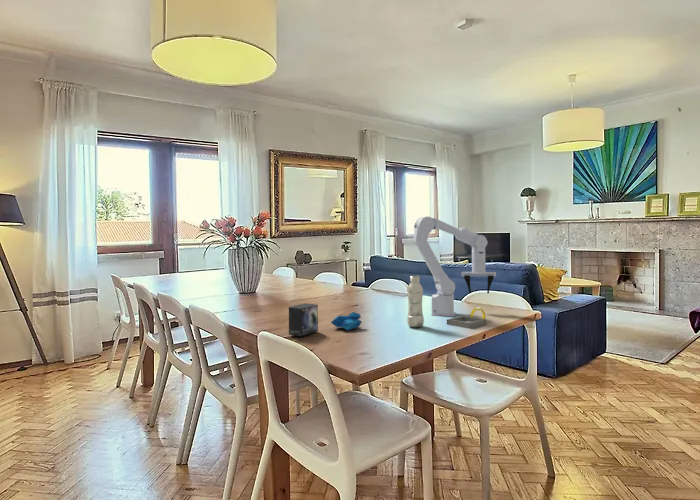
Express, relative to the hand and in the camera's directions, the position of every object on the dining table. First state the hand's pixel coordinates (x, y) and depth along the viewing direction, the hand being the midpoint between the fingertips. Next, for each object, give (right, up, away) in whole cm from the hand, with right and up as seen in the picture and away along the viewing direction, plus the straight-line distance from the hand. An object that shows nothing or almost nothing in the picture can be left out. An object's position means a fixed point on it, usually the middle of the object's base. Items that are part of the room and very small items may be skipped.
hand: (478, 292), depth 192 cm
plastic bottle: (-31, -11, -22) cm, 40 cm away
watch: (-5, -11, -15) cm, 19 cm away
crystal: (-52, -9, -19) cm, 56 cm away
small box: (-74, -13, -28) cm, 80 cm away
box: (-11, -11, -21) cm, 26 cm away
